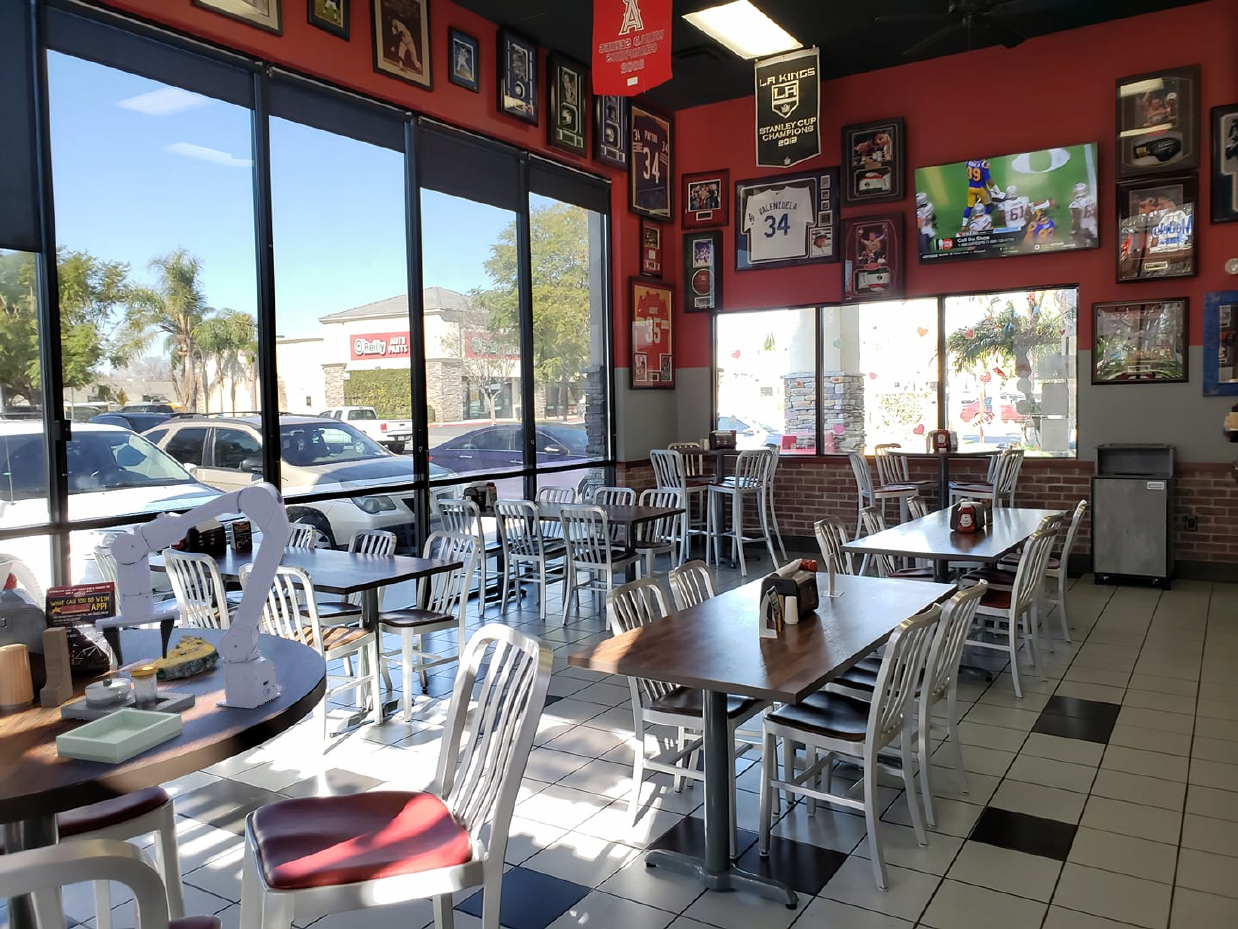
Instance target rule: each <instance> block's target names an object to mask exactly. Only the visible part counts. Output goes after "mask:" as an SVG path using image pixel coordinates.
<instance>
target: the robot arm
mask: <svg viewBox="0 0 1238 929" xmlns="http://www.w3.org/2000/svg"><path fill="white" fill-rule="evenodd" d="M241 513H242V514H244V515H245V516H246V517H247V518H249V519H251V520H252V521H253V522H255V524H256V526H257V527H258V529H259V531H260V532H261V534H262V540H261V542H260V545H259V548H258V550H257V554H256V557H255V560H254V562H253V565H252V567H251V570H250V574H249V577H248V579H247V582H246V585H245V586H244V587H245V588H244V591H243V593H242V596H241V599H240V602H239V605H238V608H237V610H236V612H235V614H234V617H233V619H232V621H231V624H230V626H229V627H228V629H227V631H226V632H225V633H224V634H223V635H222V636H221V637H220V640H219V643H218V650H219V654H221V655H222V656H221V663H222V670H223V671H222V672H223V682H224V694H225V698H224V699H221V700H219V701H217V702H215V705H216V706H219V705H222V706H221V707H230V708H231V707H233V708H244V709H255V708H257V706H258V705H260V706H261V705H264V704H266V703H268V702H270V701H272V700H274V699H276V698H278V697H280V696H281V693H280V692H278V687H277V686H278V685H277V677H276V676H277V675H276V667H275V664H274V662H273V661H272V660H270V659H269V658H265V657H263V655H262V653H261V652H262V651H261V650H260V648H258V646H257V643H259V641H260V638H261V630H260V624H261V621H262V616H263V611H264V609H265V606H266V603H267V600H268V597H269V595H270V591H271V588H272V585H273V583H274V580H275V578H276V575H277V571H278V569H279V566H280V563H281V561H282V557H283V554H284V551H285V549H286V545H287V543H288V540H289V538H290V534H291V524H290V521H289V516H288V514H287V510H286V506H285V499H284V497H283V496H282V494H281V493H280V491H279V490H278V489H277V487H276V486H275V485H274V484H272V483H270V482H268V481H267V482H266V481H258V482H255V483H254V484H252V485H251V486H247V485H246V486H244V487H239V488H237V489H234V490H231V491H227V492H225V493H223V494H221V495H219V496H217V497H215V498H213V499H211V500H209V501H207V502H205V503H203V504H201V505H198V506H197V507H195V508H193V509H191V510H188V511H187V512H185V513H182V514H178V513H176V512H168V513H166V512H161V513H158V514H157V515H156V518H154V519H153V520H151V521H148V522H147V523H144V524H141V525H140V524H137V525H136V524H135V525H134V526H133V527H132V529H133V530H129V531H126V532H125V533H121V534H120V535H118V536H117V537H115V539H114V540H113V541H112V543H111V545H110V553H111V556H112V558H113V559H114V560H115V562H116V563H115V564H116V576H117V585H118V594H119V604H120V614H121V615H115V616H112V617H105V618H100V619H96V620H95V630H96V632H102V636H103V638H104V639H105V641H106V642H107V643H108V645H109V646H110V648H111V650H112V652H113V653H114V657H115V658H116V662H117V665H118V667H121V666H123V665H124V657H123V652H122V646H121V634H120V629H121V628H126V627H127V628H128V627H132V626H133V627H134V626H142V625H147V624H156V623H160V624H159V628H160V637H161V653H162V654H161V656H162V657H163V659H166V658H167V652H168V646H169V641H170V638H171V635H172V632H173V629H174V626H175V621H180V620H181V610H180V608H172V609H171V608H170V609H163V610H162V609H159V610H155V604H154V593H153V584H152V575H151V567H150V560H149V554H150V553H156V552H158V551H160V550H162V549H165V548H166V547H170V545H173V544H176V543H177V542H179V541H182V540H184V539H185V538H186V536H187V534H188V531H189V529H192V528H194V527H196V526H198V525H200V524H203V523H205V522H207V521H210V520H212V519H215V518H217V517H219V516H221V515H223V514H231V515H239V514H241ZM279 695H280V696H279ZM271 699H272V700H271ZM269 700H270V701H269ZM267 701H268V702H267ZM265 702H266V703H265ZM258 707H259V706H258Z"/></svg>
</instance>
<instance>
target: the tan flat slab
mask: <svg viewBox="0 0 1238 929" xmlns="http://www.w3.org/2000/svg"><path fill="white" fill-rule="evenodd" d="M178 642H179V644H176V645H175V647H173V648H172V649H170V650H169V651H167V658H166V659H163V657H162V655H161V656H160V657H158V658H157V659H155V660H154V661H153V662H152V663H151V664H155V665H158V672H157V673H156V680H157V681H159V682H166V681H170V680H174V679H177V678H181V677H190V676H192V675H195V674H199V673H201V672H203V671H206V670H209V669H213V668H215V664H216V663H218V661H220V660H219V659H220V658H221V656H220V652H218V651H217V648H216V647H215V646H214V645H213V644H212V642H211V641H210V640H208V639H206V638H204V637H202V636H196V635H191V634H190V635H189V634H186V635H182V636H180V638H179V639H178Z"/></svg>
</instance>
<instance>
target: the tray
mask: <svg viewBox="0 0 1238 929" xmlns="http://www.w3.org/2000/svg"><path fill="white" fill-rule="evenodd" d="M182 720H183V718H182V714H181V713H175V714H173V713H163V712H152V711H142V710H132V709H122V710H120V711H117V712H115V713H112V714H110V715H107V716H105V717H103V718H100V719H98V720H95V721H91V722H88V723H86V724H83V725H82V726H79V727H76V728H74V729H72V730H69V731H66V732H64V733H62V734H60V735H57V736H55V742H56V751H57V757H60V758H61V757H62V758H68V759H69V758H70V759H76V760H83V761H85V760H86V761H92V762H101V763H109V764H114V765H115V764H117V765H118V764H121V763H122V762H123V763H124V762H125V761H127V760H130V759H131V758H133V757H135V756H137V755H139V754H142V753H144V752H145V751H148V750H150V749H151V748H154V747H156V746H159V745H160V744H163V743H165V742H166V741H169V740H171V739H173V738H175V737H177V736H180V735H182V734H184V728H183V721H182Z"/></svg>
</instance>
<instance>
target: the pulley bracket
mask: <svg viewBox="0 0 1238 929" xmlns="http://www.w3.org/2000/svg"><path fill="white" fill-rule="evenodd" d="M84 693H85V697H84V698H82V699H79V700H77V701H74V702H72V703H69V704H65V705H64V706H61V707H60V708H59V709H60V716H61V718H63V719H71V718H76V719H75V720H81V719H83V721H91V722H93V721H95V720H98V719H100V718H103V717H105V716H107V715H110V714H112V713H115V712H117V711H120V710H122V709H132V710H142V711H152V712H163V713H173V714H178V713H180V712H182V711H184V710H186V709H189V708H191V707H192V706H191V705H193V706H195V705H196V697H195V696H196V695H195V694H193V693H181V692H167V691H158V700H159V704H158V705H155V706H153V707H151V708H148V709H137V708H136V702H135V692H134V688H132V683H131V679H129V678H127V677H126V678H123V677H121V678H120V677H118V678H105V679H103V680H100V681H95V682H93V683H91V684H89V685H87V686H86V687H85V688H84ZM194 704H195V705H194ZM190 706H191V707H190ZM188 707H189V708H188Z"/></svg>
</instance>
